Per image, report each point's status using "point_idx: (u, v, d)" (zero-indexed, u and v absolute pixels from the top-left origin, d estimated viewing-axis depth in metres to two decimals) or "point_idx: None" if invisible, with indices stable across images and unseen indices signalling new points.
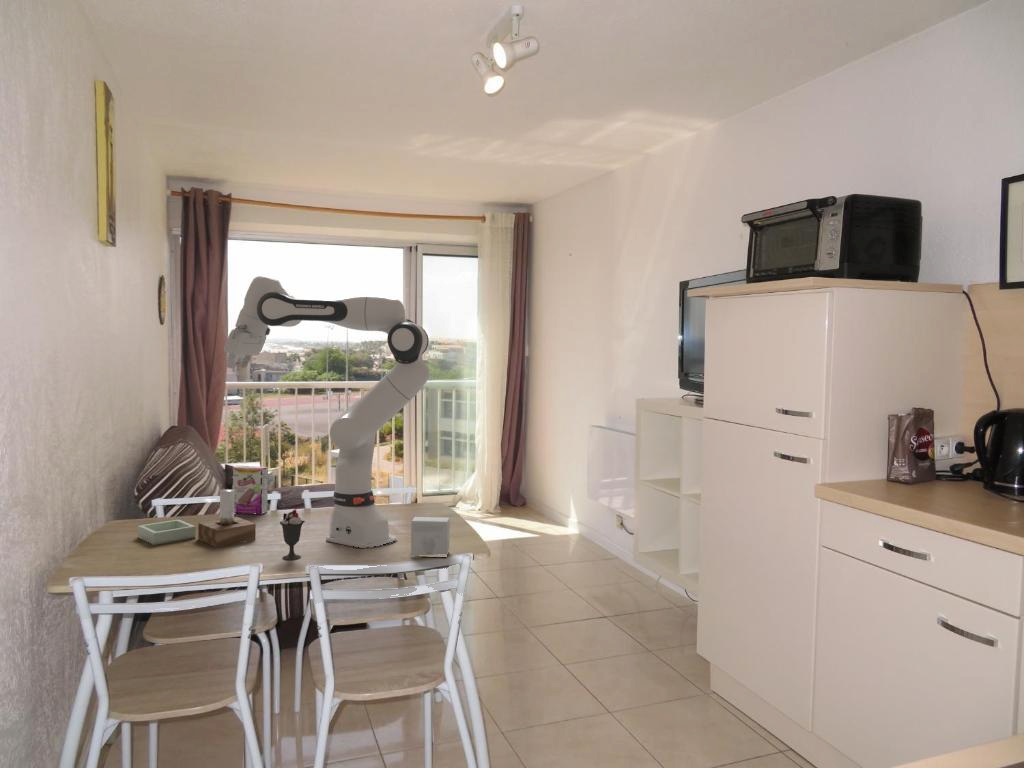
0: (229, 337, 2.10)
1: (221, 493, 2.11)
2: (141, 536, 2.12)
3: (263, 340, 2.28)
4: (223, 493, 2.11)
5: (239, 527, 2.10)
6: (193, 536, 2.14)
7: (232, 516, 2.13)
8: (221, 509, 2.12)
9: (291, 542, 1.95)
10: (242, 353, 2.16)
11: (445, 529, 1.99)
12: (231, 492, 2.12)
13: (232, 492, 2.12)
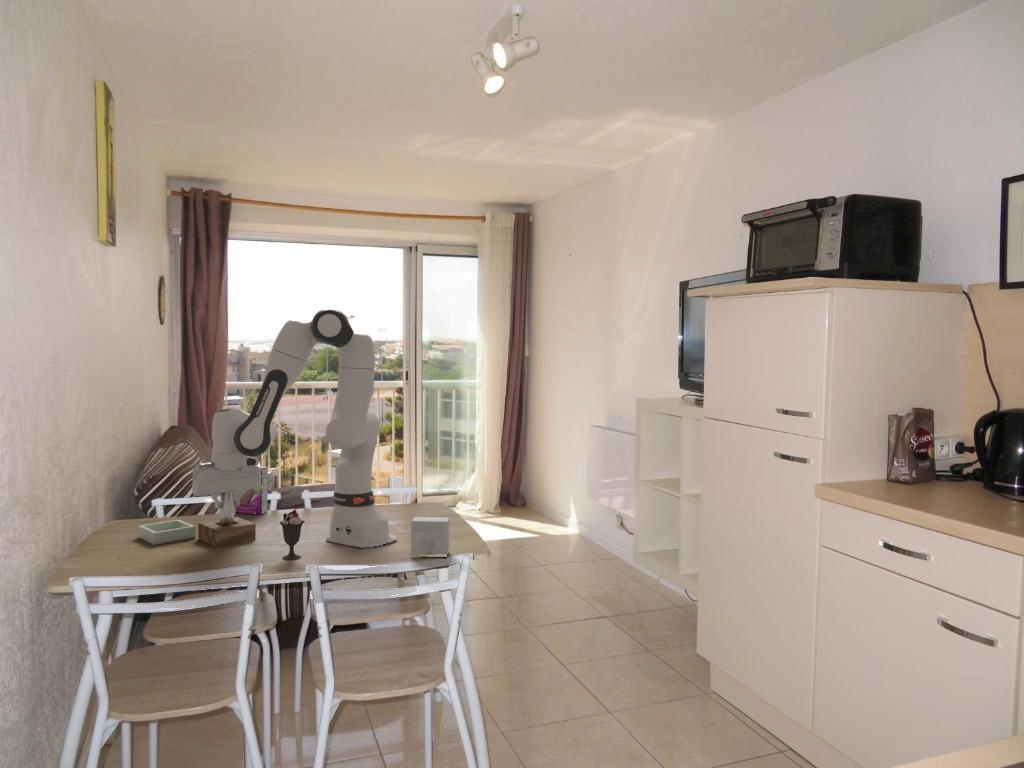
0: (193, 479, 2.06)
1: (221, 493, 2.11)
2: (141, 536, 2.12)
3: (255, 471, 2.17)
4: (223, 493, 2.11)
5: (239, 527, 2.10)
6: (193, 536, 2.14)
7: (232, 516, 2.13)
8: (221, 509, 2.12)
9: (291, 542, 1.95)
10: (217, 491, 2.09)
11: (445, 529, 1.99)
12: (231, 492, 2.12)
13: (232, 492, 2.12)
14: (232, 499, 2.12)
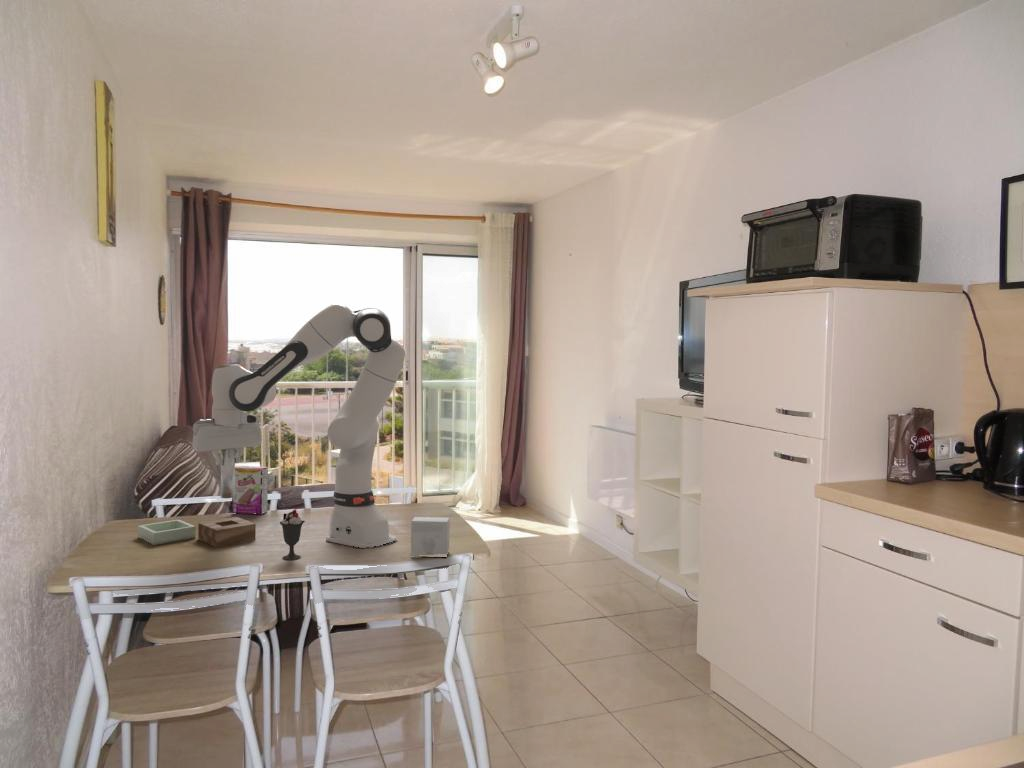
0: (193, 435, 2.06)
1: (221, 450, 2.11)
2: (141, 536, 2.12)
3: (256, 429, 2.17)
4: (223, 450, 2.11)
5: (239, 527, 2.10)
6: (193, 536, 2.14)
7: (233, 473, 2.12)
8: (222, 466, 2.11)
9: (291, 542, 1.95)
10: (218, 447, 2.08)
11: (445, 529, 1.99)
12: (232, 449, 2.11)
13: (233, 449, 2.12)
14: (233, 456, 2.12)
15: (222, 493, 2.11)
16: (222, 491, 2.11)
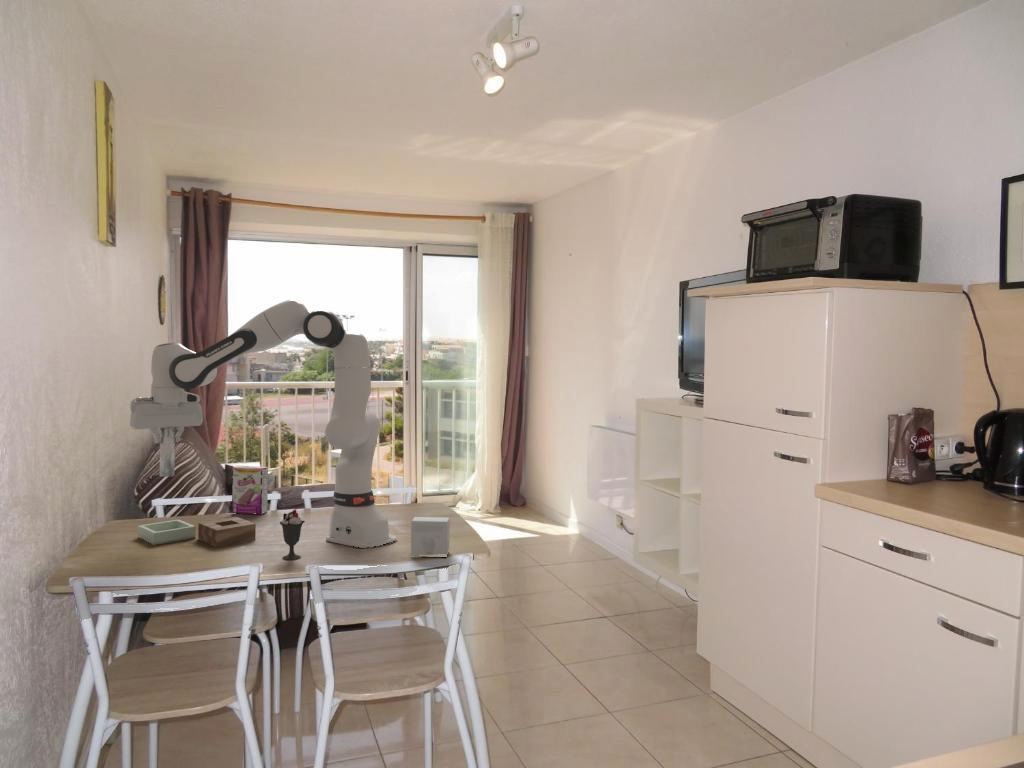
0: (131, 412, 2.06)
1: (161, 428, 2.11)
2: (141, 536, 2.12)
3: (197, 408, 2.17)
4: (162, 428, 2.11)
5: (239, 527, 2.10)
6: (193, 536, 2.14)
7: (172, 452, 2.12)
8: (161, 444, 2.11)
9: (291, 542, 1.95)
10: (156, 426, 2.08)
11: (445, 529, 1.99)
12: (171, 427, 2.12)
13: (172, 427, 2.12)
14: (172, 434, 2.12)
15: (161, 471, 2.11)
16: (161, 469, 2.11)
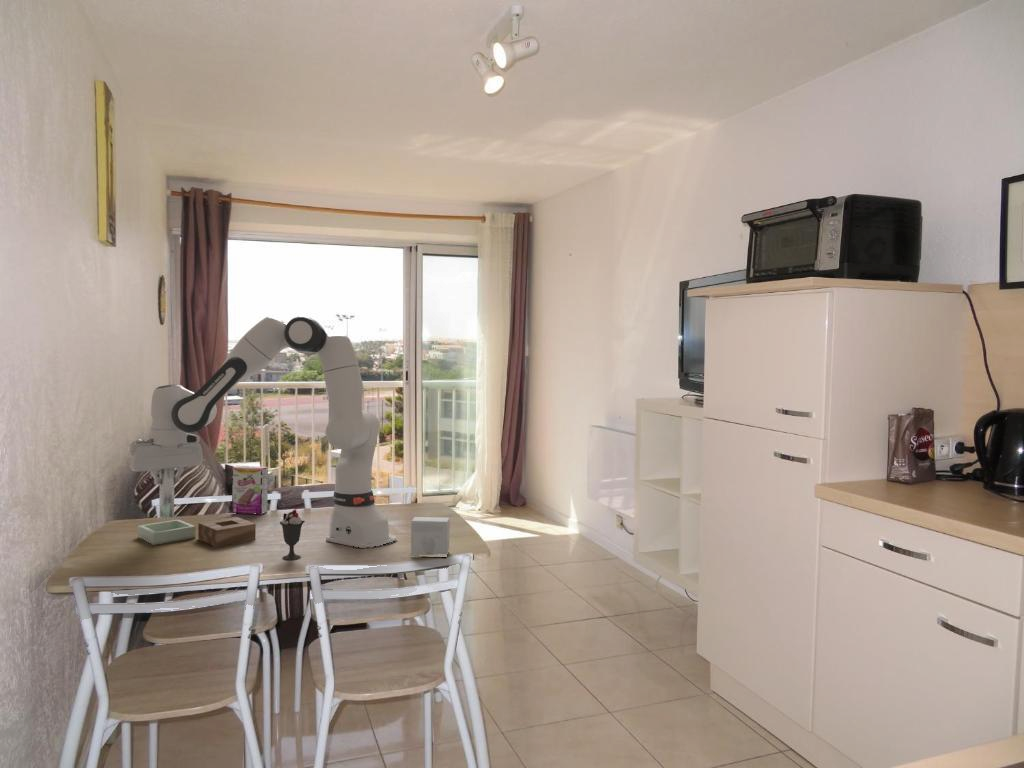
0: (131, 454, 2.07)
1: (160, 469, 2.12)
2: (141, 536, 2.12)
3: (196, 449, 2.17)
4: (162, 469, 2.11)
5: (239, 527, 2.10)
6: (193, 536, 2.14)
7: (172, 492, 2.13)
8: (160, 485, 2.12)
9: (291, 542, 1.95)
10: (156, 467, 2.09)
11: (445, 529, 1.99)
12: (170, 468, 2.12)
13: (172, 468, 2.12)
14: (172, 475, 2.13)
15: (160, 512, 2.12)
16: (160, 510, 2.12)
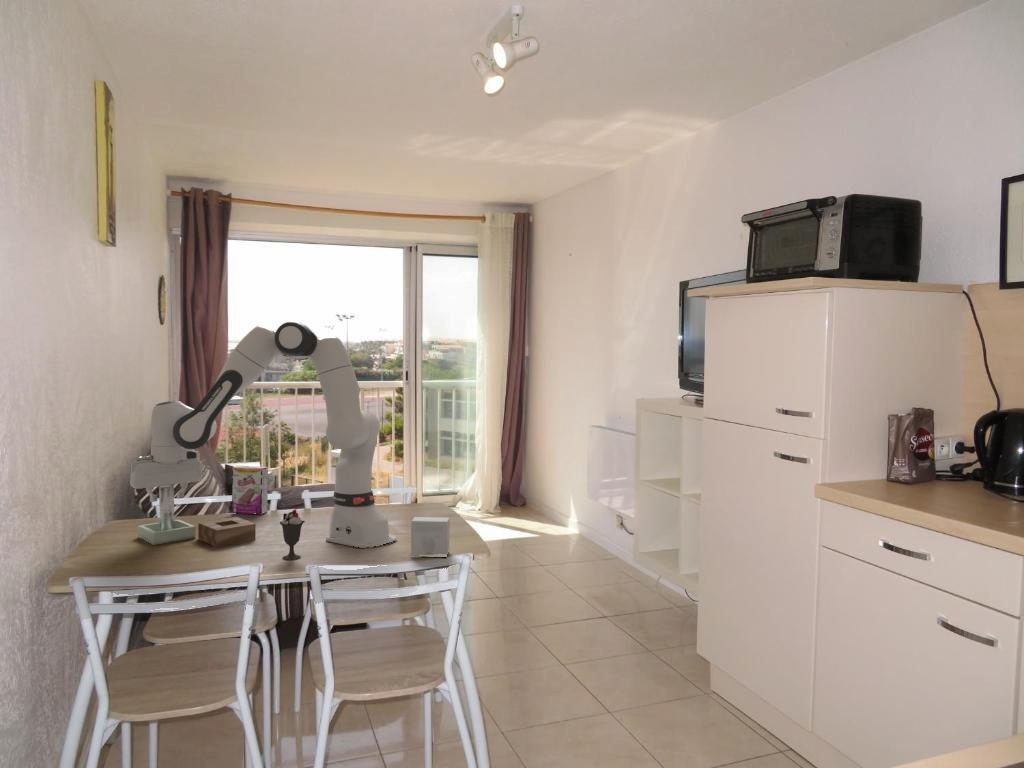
0: (131, 472, 2.07)
1: (160, 489, 2.12)
2: (141, 536, 2.12)
3: (196, 465, 2.18)
4: (162, 489, 2.11)
5: (239, 527, 2.10)
6: (193, 536, 2.14)
7: (172, 512, 2.13)
8: (160, 505, 2.12)
9: (291, 542, 1.95)
10: (156, 484, 2.09)
11: (445, 529, 1.99)
12: (170, 488, 2.12)
13: (171, 488, 2.13)
14: (171, 495, 2.13)
15: None
16: (161, 530, 2.12)
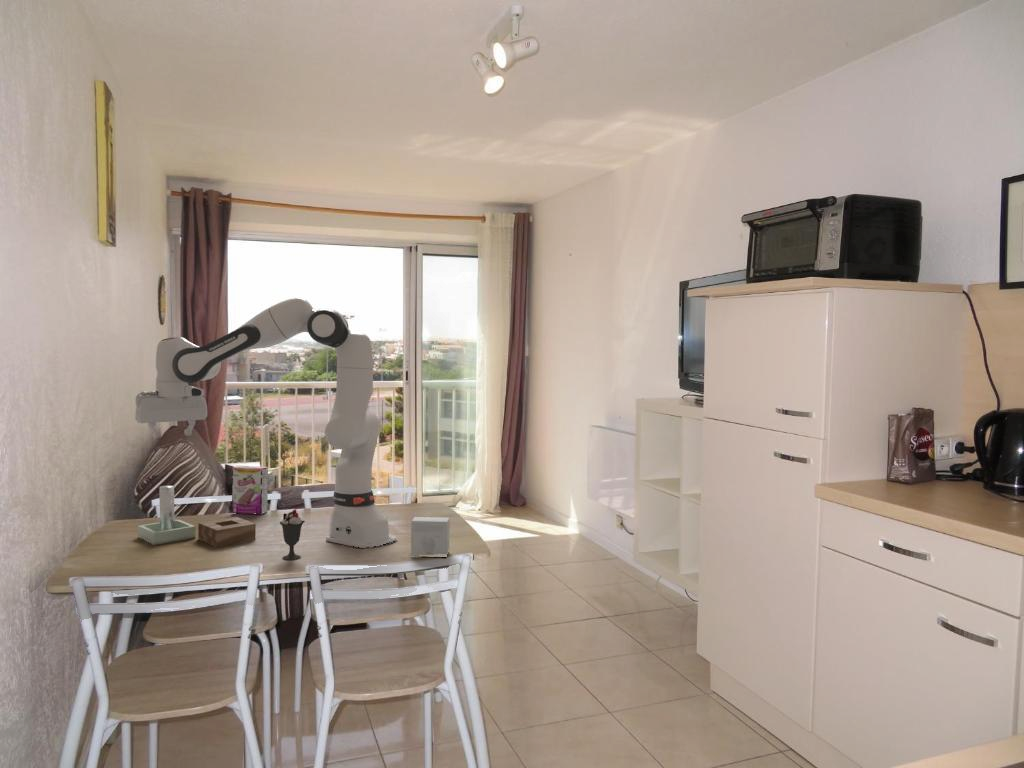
0: None
1: (160, 489, 2.12)
2: (141, 536, 2.12)
3: (201, 402, 2.18)
4: (162, 489, 2.12)
5: (239, 527, 2.10)
6: (193, 536, 2.14)
7: (172, 512, 2.13)
8: (160, 505, 2.12)
9: (291, 542, 1.95)
10: (161, 419, 2.10)
11: (445, 529, 1.99)
12: (170, 488, 2.12)
13: (171, 488, 2.13)
14: (171, 495, 2.13)
15: None
16: (161, 530, 2.12)
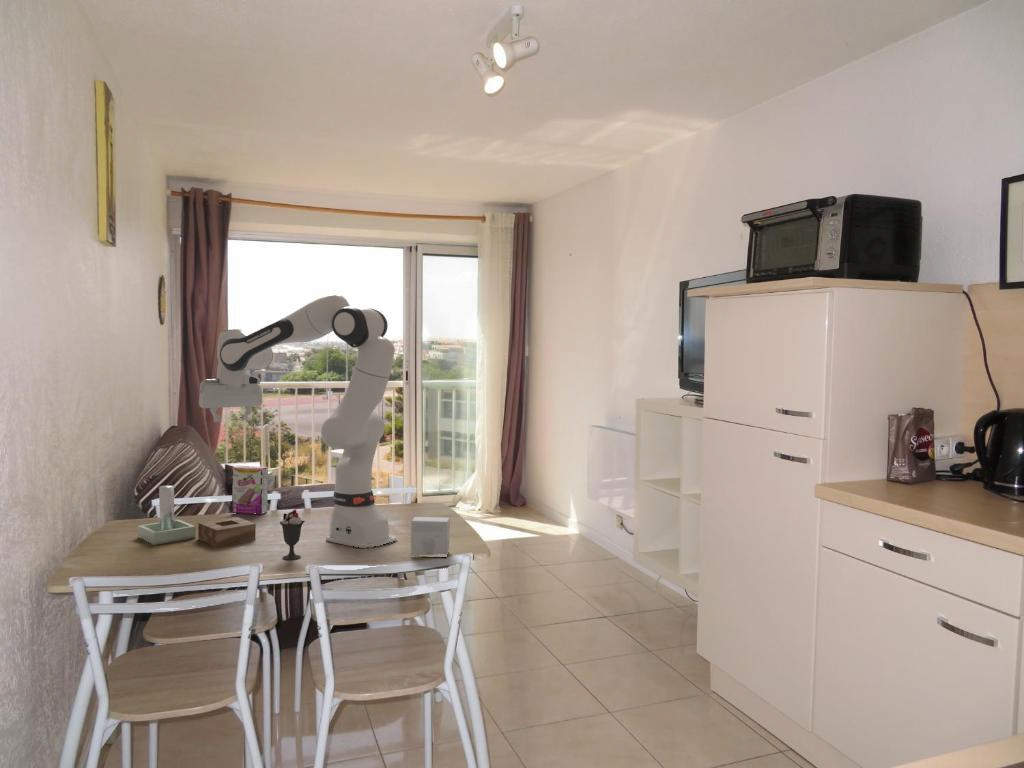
0: (200, 393, 2.25)
1: (160, 489, 2.12)
2: (141, 536, 2.12)
3: (257, 390, 2.36)
4: (162, 489, 2.12)
5: (239, 527, 2.10)
6: (193, 536, 2.14)
7: (172, 512, 2.13)
8: (160, 505, 2.12)
9: (291, 542, 1.95)
10: (222, 405, 2.27)
11: (445, 529, 1.99)
12: (170, 488, 2.13)
13: (171, 488, 2.13)
14: (171, 495, 2.13)
15: None
16: (161, 530, 2.12)
